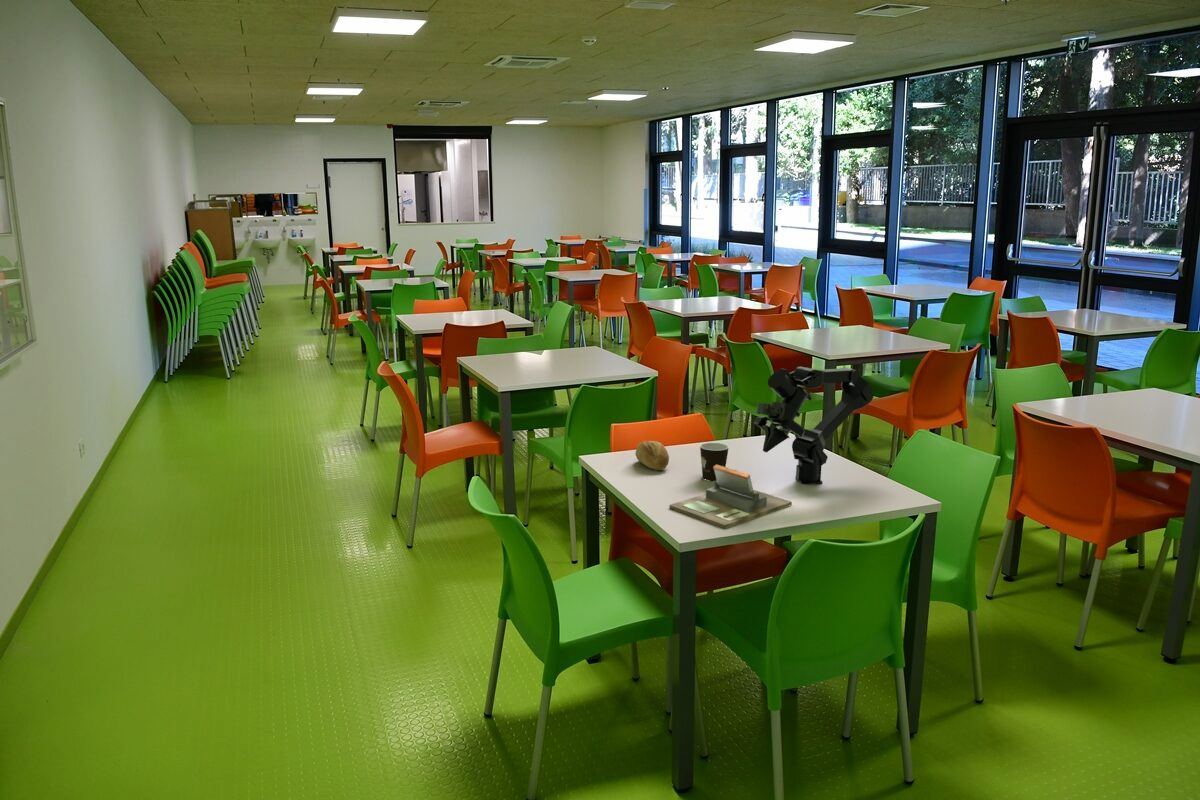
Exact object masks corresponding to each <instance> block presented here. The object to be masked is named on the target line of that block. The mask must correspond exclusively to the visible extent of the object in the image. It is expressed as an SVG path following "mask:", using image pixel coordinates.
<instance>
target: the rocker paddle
mask: <svg viewBox="0 0 1200 800" xmlns="http://www.w3.org/2000/svg"><path fill="white" fill-rule="evenodd" d="M713 468H714V471H715V475H716V479H717V483H718V485H717V486H718V487H721V488H724V489H727V490H730V491H733V492H736V493H739V494H742V495H745V496H748V497H751V498H753V494H754V491H753V490H754V488H753V484H752V483H753V482H752V479H751V474H750V473H745V472H743V471H740V470H737V469H733V468H730V467H724V466H720V465H717V464H716V465H715V466H714V467H713Z"/></svg>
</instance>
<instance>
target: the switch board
mask: <svg viewBox="0 0 1200 800" xmlns="http://www.w3.org/2000/svg"><path fill="white" fill-rule="evenodd" d="M717 485H718V483H717V481H714V486H713V487H710V488H707V489H705V490H706V491H705V493H704V494H700V495H697V496H694V497H691V498H687V499H684V500H681V501H678V502H673V503H670V504H669V508H668V509H670V508H671V509H670V510H673V511H675V510H676V512H678V511H679V513H681V514H684V515H686V516H690V517H692V518H695V519H697V520H700V521H703V522H706V523H708V524H711V525H713V526H716V527H719V528H722V529H727V528H728V529H729V528H731V527H734V526H736V524H737V525H739V523H740V524H742V522H743V523H744V522H745V523H746V522H748V521H751V520H754V519H757V518H759V516H760V517H762V516H764V515H768V514H771V513H774V512H776V510H777V511H779V510H782V509H784V507H785V508H788V507H790V506H789V505H791V506H792V503H793V502H792V501H791V500H787V499H784V498H781V497H778V496H775V495H773V494H772V495H771V494H768V493H766V492H761V491H759V490H756V489H753V491H754V494H753V498H751V497H748V496H745V495H742V494H739V493H736V492H733V491H730V490H727V489H724V488H721V487H718V486H717ZM787 506H788V507H787ZM781 508H782V509H781ZM778 509H779V510H778ZM773 511H774V512H773ZM770 512H771V513H770ZM756 517H757V518H756ZM753 518H754V519H753Z"/></svg>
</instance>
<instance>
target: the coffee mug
mask: <svg viewBox="0 0 1200 800" xmlns="http://www.w3.org/2000/svg"><path fill="white" fill-rule="evenodd" d="M699 449H700V450H699V451H700V460H701V461H700V462H701V472H702V473H701V474H702V479H703V478H704V479H706V480H705V481H707V480H710V481H709V482H715V481H717V479H716V475H715V471H714V468H713V467H714V466H715V465H716V464H717V465H720V466H724V467H726V466H727V465H726V464H727V461H728V454H729V445H727V444H726V443H725V444H724V443H720V442H705V443H701V444H700V445H699ZM704 479H703V480H704Z"/></svg>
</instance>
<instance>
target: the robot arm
mask: <svg viewBox="0 0 1200 800" xmlns="http://www.w3.org/2000/svg"><path fill="white" fill-rule="evenodd" d="M836 383H840V388H841V390H842V392H841V396H840V397H841V398H840V401H839V402H838V403H837V404H836V405H834V407H833V408H832V409H831V410H830V411H829V412H828V413H827V414H826V415H825V417H823V419H822V420H821V421H819V422H818V424H817V425H815V427H814V428H813V429H810V430H809V429H807V428H805V427H804V426H802V425H800V424H799V423H797V421H795V419H796V418H800V416H801V413H800V412H799V411H801V408H802V406H803V405H804V403H805V401H810V402H811V401H812V395H811V391H809V390H805V389H803V388H806V389H811V390H814V389H817V388H821V387H822V385H825V384H836ZM767 385H768V387H769V389H771V390H772V391H773V393H776V395H777V396H779V397H780V398H782V400H781V402H778V401H771V402H770V403H765V402H758V404H757V409H756V414H758V415H760V416H756V417H755V418H754V420H753V424H755V425H756V426H757V427H759V428H760V429H762V430H763V431H764V432H765V435H764V442H763V447H762V452H764V453H768V452H769V451H771V450H772V449H774V448H775V447H776V446H778V445H780V444H781V443H783V442H784V441H785V440H787V439H790V436H789V434H790V433H791V432H792V433H794V437H795V438H794V440H793V441H792V443H791V450H792V453H793V459H794V460H798V463H797V464H796V467H795V468H796V470H795V479H796V481H798V482H800V484H802V485H808V483H816V484H823V481H822V480H821V478H822V467H823V465H825V464H827V462H828V455H827V453H825V451H824V450H825V445H826V440H827V439H829V437H830V436H832V434H833V433H834V432H835V431H837V429H838V428H839V427H840V426H841V425H842V424H843V423H844V422H845V421H846V420H847V418H848V417H849V416H850V415H851V414H853V412H855V411H857V410H860V409H864V408H865V407H866V406H867V405H868V404H870V403H871V402H872V401H873V399H874V396H875V393H874V390H873V388H872V386H871V385H870V383H869V382H868V381H867V380H865V379H864V378H863V377H862V376H861V375H860V373H859V372H858V371H857V370H856V369H853V368H849V367H842V368H841V367H840V368H828V369H827V368H826V369H816V368H810V367H804V366H797V367H796V368H795V370H794V371H791V372H789V370H787V369H786V368H779V371H778V370H777V371H775V372H774V373H772V374H771V375H770V376H769V378H768V379H767ZM763 415H765V416H763Z"/></svg>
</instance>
